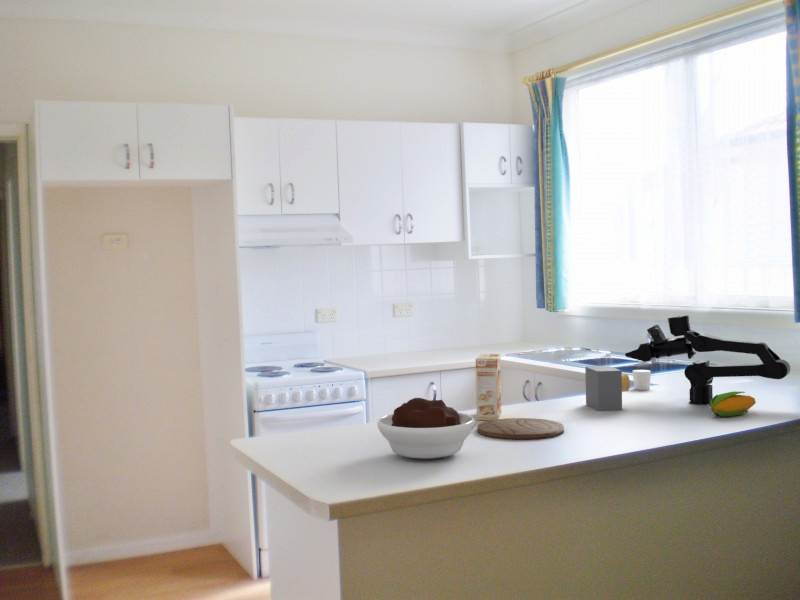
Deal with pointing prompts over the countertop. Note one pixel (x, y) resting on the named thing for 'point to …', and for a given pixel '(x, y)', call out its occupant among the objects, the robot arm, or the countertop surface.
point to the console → (604, 388)
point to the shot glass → (641, 379)
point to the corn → (731, 404)
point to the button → (625, 383)
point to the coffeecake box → (488, 386)
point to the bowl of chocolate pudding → (426, 429)
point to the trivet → (520, 429)
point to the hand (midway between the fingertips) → (629, 353)
